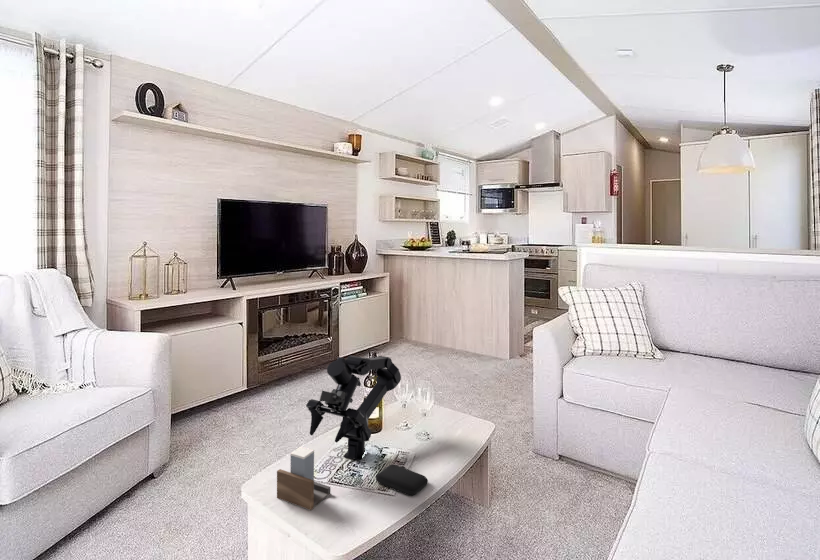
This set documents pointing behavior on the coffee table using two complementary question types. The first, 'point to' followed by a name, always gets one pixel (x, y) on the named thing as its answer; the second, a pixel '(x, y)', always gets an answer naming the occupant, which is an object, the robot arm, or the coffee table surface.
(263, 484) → the coffee table surface
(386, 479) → the carrying case or bag
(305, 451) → the white tall block
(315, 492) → the stand
